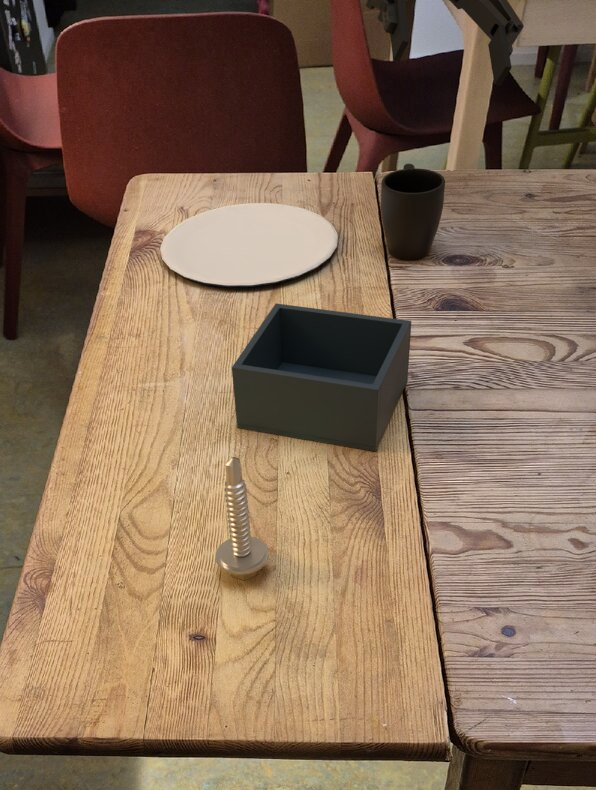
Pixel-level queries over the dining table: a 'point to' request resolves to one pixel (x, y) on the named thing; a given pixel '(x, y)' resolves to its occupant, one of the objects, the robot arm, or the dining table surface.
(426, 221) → the mug
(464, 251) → the dining table surface
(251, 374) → the box
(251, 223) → the plate
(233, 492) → the screw
